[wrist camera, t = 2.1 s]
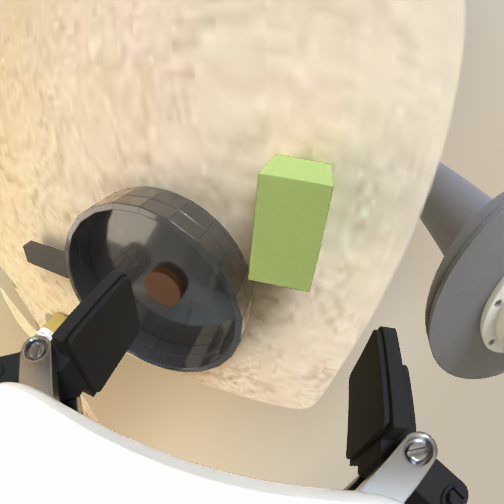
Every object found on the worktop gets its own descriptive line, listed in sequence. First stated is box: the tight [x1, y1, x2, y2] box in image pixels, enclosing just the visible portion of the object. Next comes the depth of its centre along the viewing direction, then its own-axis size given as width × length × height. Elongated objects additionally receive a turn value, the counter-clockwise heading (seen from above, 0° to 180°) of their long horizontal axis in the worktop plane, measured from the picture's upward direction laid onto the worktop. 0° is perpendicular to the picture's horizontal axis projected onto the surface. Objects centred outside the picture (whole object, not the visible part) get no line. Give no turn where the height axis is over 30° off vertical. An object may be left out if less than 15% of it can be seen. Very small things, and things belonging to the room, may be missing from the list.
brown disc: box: [144, 267, 184, 306], centre depth 27 cm, size 4×4×1 cm
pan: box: [65, 187, 253, 372], centre depth 27 cm, size 19×19×4 cm
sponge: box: [248, 155, 333, 292], centre depth 19 cm, size 4×7×6 cm, turn 175°
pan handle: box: [23, 241, 70, 279], centre depth 29 cm, size 10×2×2 cm, turn 85°
